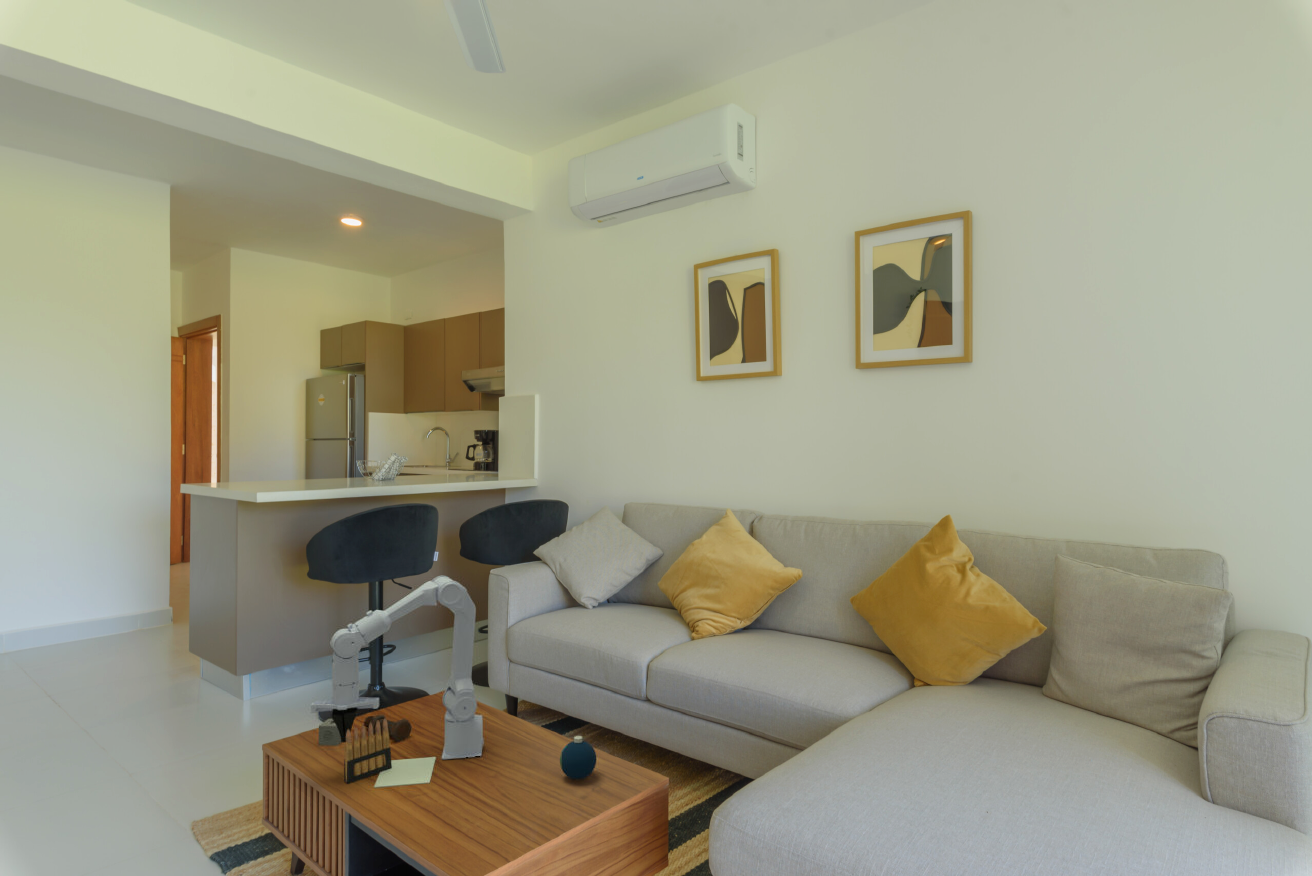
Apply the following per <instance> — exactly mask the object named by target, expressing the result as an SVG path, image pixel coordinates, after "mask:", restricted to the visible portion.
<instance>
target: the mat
mask: <svg viewBox="0 0 1312 876" xmlns="http://www.w3.org/2000/svg"><path fill="white" fill-rule="evenodd" d="M436 759H437V757H436V756H430V757H416V758H406V759H393V760H392V759H391V763H392V768H391V769H388V770H385V771H382V772H380V773H378V774H379V775H378V776H377V779H376V781H375V783H374V786H373V788H375V789H376V788H388V787H398V786H409V785H411V786H412V785H422V784H430V782H431V778H432V775H433V770H434V766H435V764H436Z"/></svg>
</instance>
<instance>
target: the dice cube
mask: <svg viewBox="0 0 1312 876" xmlns="http://www.w3.org/2000/svg"><path fill="white" fill-rule="evenodd" d="M340 744H342V743H341V737H340V733H339V731H338V728H337V726H336V724H335V722H334V721H333V719H332V718H328V719H326V720H325V721H324V722H322V723H321V724H319V725H318V746H339V745H340Z"/></svg>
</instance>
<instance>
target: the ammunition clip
mask: <svg viewBox="0 0 1312 876" xmlns="http://www.w3.org/2000/svg"><path fill="white" fill-rule="evenodd" d="M386 719H387V718H384V721H383V732H381V727H380V723H379V721H378V720H377V722H376V728H375V734H374V733H373V726H372V723H371V722H370V724H369V727H368V728H367V731H366V727H365V726H364V724H361V725H362V726H361V729H360V735H359V730H358V727H357V726H355V727H354V730H353V734H351V733H350V730H349V729H348V730H347V733H346V742H345V747H344V759H343V762H344V763H343V764H344V766H343V782H344V783H346V784H348V785H349V784H352V783H354V782H357V781H361V780H363V779H366V778H369V777H371V776H374V775H377V774H380V772H382V771H385V770H388V769H391V768H392V763H391V760H392V753H391V752H392V751H391V746H390V734H389V733H388V724H387V720H388V719H387V720H386ZM359 736H360V737H359ZM352 737H353V740H352ZM360 779H361V780H360Z"/></svg>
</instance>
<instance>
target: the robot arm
mask: <svg viewBox="0 0 1312 876" xmlns="http://www.w3.org/2000/svg"><path fill="white" fill-rule="evenodd" d="M437 601H438V602H439V603H440V604H441V605H442V606H444V607H446V608H448V609H449V610H450V611H451V612H452V613H453V615H454V618H453V619H454V620H453V634H452V635H453V636H452V648H451V649H452V652H451V664H450V677H449V678H448V680H447V682H446V689H445V691H444V693H443V695H442V700H441V701H442V705H443V706H444V707H445V709H446V711H445V715H444V746H443V750H442V754H441V760H452V759H453V760H454V759H467V758H466V757H468V758H476V757H475V756H480V757H482V755H483V754H482V753H483V746H484V745H485V744H484V743H485V742H484V740H485V739H484V736H483V732H484V731H483V730H484V729H483V727H484V726H483V725H484V724H483V723H484V722H483V721H484V720H483V715H482V714H476V711H477V707H478V703H477V700H476V698H475V687H474V684H473V680H472V673H473V672H472V671H473V659H474V658H473V657H474V644H475V631H476V629H475V628H476V613H477V609H476V608H477V606H476V605H475V603H474V601H473V600H472V598H471V596H470V594H469V592H468V590H467V588H466V587H465V586H463V585H462V584H461V583H460V582H458V581H456V580H453V579H452V578H451V577H449V576H447V575H438V576H436V577H434V578H433V579H432V580H429V581H426V582H425V583H423V584H422V585H420V586H419V587H418V588H416V589H414V590H413V591H412V592H410V593H409V594H408V595H406V596H404V597H403V598H402V599H400V600H398V601H396V602H395V603H394V604H392V605H391V606H390V607H388V608H386V609H385V610H381V609H380V610H379V609H376V610H374V611H373V610H368V611H367V612H365V614H366V616H363V618H361V619H359V620H357V621H356V622H354V623H349V624H347V628H341V629H338V630H337V631H336V632H335V633H334V634H333V636H332V637H331V639H330V641H329V644H330V647H331V649H332V650H333V653H332V666H331V669H332V670H331V673H332V674H331V675H332V677H331V679H332V680H331V681H332V683H331V687H332V688H331V698H332V699H326V700H319V701H313V702H312V703H311V704H310V708H311V709H310V713H311V714H315V713H318V712H328V711H329V712H332V713H331V719H333V721H334V722H335V724H336V726H337V728H338V731H339V733H340V737H341V743H340V744H342V743H346V733H347V730H348V729H349V730H350V733H351V731H352V727H353V725H354V722H355V719H356V717H357V715H358V711H359V710H361V709H373V710H374V709H378V708H379V707H380V697H366V696H365V697H364V696H360V684H359V683H360V670H359V669H360V661H359V653H360V652H361V649H362V647H364V646H366V645H368V644H369V643H371V642H372V641H374V640H376V639H377V638H379V637H380V636H382V635H384V634H385V633H387V632H388V631H390V628H391V625H392V623H393V622H395V621H396V620H399V619H400V618H402V617H404V616H405V615H407V614H409V613H411V612H413V611H414V610H416V609H418V608H420V607H421V606H437V605H438V603H437Z"/></svg>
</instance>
